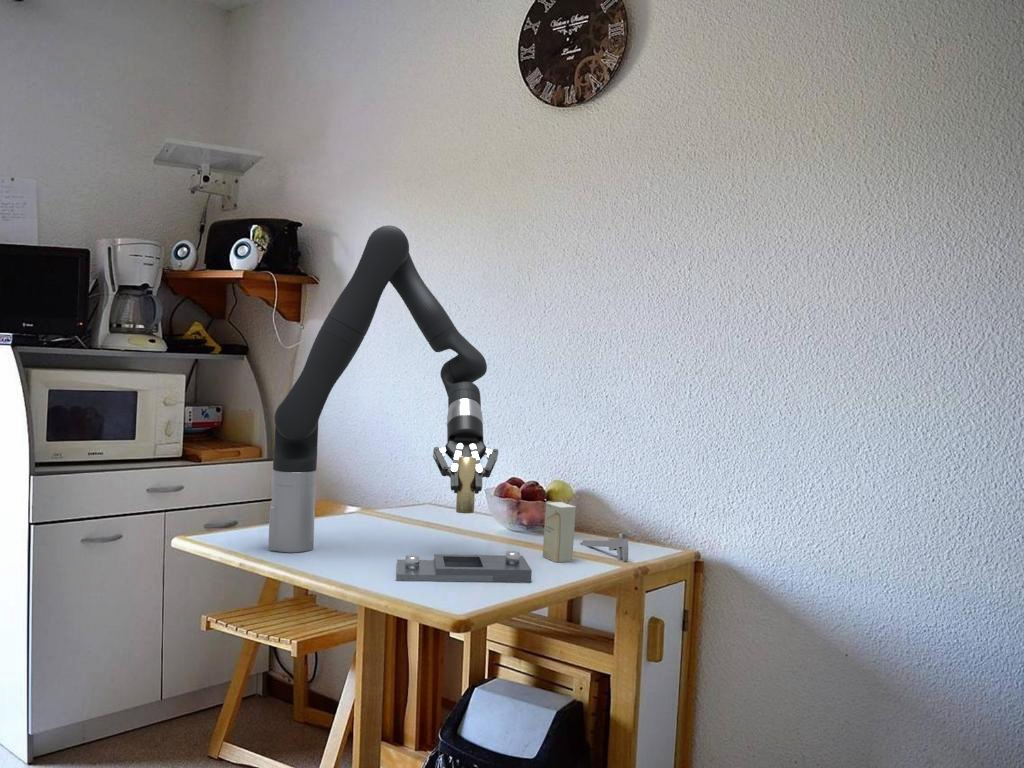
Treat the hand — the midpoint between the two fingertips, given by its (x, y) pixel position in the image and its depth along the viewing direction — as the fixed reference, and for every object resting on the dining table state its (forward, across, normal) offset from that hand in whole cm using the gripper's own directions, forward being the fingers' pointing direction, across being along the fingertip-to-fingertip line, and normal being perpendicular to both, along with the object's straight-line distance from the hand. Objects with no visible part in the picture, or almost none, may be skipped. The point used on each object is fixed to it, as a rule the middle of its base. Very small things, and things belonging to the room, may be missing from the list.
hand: (466, 490), depth 176 cm
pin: (+2, 0, +5) cm, 5 cm away
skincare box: (0, +22, +24) cm, 32 cm away
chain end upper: (+11, +4, +13) cm, 17 cm away
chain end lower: (+11, -4, +13) cm, 17 cm away
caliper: (-5, +34, +30) cm, 46 cm away
